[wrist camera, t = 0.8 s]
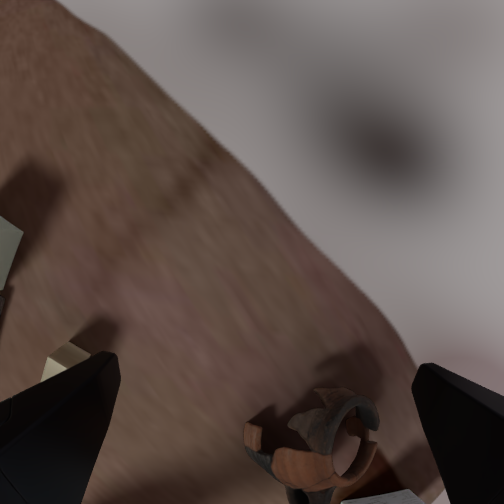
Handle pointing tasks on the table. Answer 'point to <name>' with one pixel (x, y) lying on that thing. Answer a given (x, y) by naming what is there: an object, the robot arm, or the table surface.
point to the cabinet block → (7, 247)
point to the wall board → (63, 359)
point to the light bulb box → (388, 499)
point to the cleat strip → (1, 303)
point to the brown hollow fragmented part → (318, 447)
